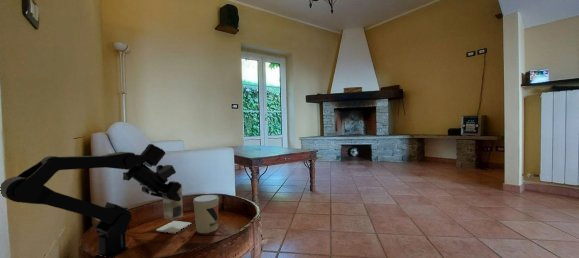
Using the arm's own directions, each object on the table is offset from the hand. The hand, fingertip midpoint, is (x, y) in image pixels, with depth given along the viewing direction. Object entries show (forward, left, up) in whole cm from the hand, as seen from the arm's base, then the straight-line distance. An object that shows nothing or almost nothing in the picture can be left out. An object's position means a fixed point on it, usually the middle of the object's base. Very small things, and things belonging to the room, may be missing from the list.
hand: (176, 199), depth 100 cm
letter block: (-1, 0, -7) cm, 7 cm away
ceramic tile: (-1, 0, -11) cm, 11 cm away
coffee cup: (+1, -14, -11) cm, 18 cm away
